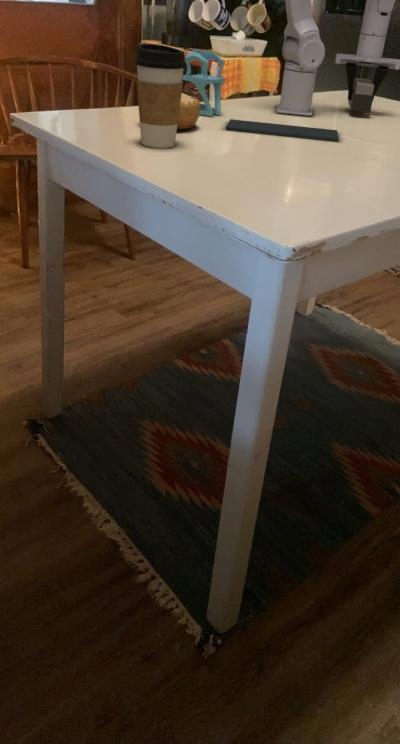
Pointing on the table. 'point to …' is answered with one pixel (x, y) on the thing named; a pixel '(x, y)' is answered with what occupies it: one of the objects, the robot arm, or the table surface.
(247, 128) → the desk mat
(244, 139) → the table surface
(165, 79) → the coffee cup
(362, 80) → the grey rectangular block
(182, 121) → the pastry
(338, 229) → the table surface
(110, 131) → the table surface
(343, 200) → the table surface
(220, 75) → the chair
